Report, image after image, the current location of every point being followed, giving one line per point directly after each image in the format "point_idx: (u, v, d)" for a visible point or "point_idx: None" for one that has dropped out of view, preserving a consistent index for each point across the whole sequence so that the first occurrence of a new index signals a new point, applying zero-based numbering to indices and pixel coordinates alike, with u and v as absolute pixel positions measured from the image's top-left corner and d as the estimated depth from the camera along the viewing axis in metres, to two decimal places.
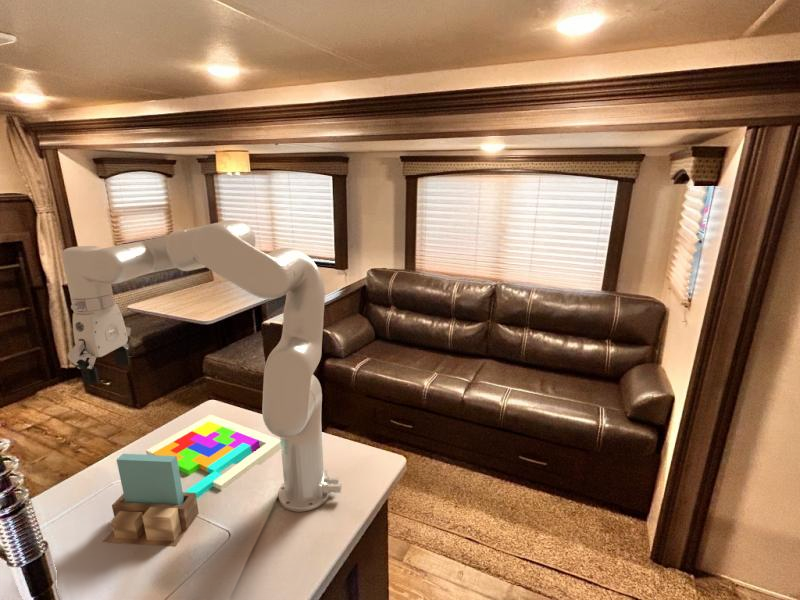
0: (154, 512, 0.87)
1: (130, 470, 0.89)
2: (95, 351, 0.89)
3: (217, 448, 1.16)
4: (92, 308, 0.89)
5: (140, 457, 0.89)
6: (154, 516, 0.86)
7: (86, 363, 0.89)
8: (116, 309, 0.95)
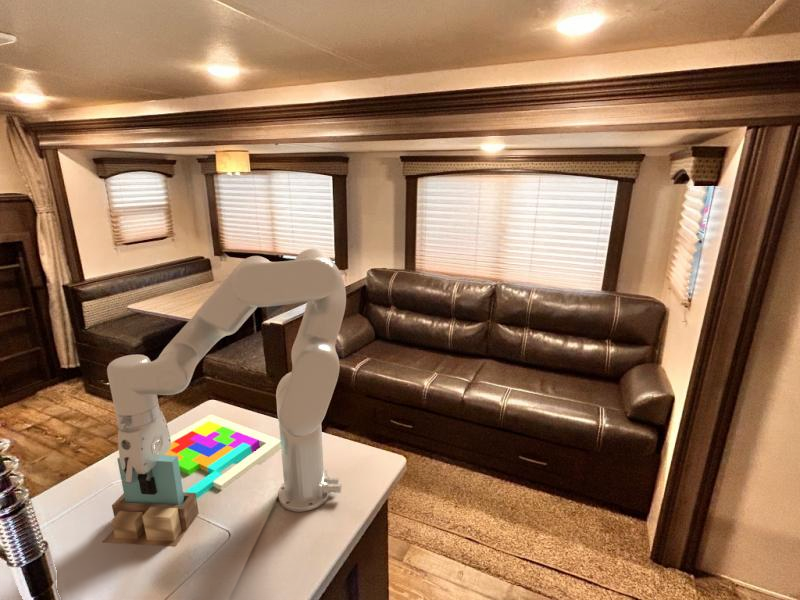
0: (154, 512, 0.87)
1: None
2: (142, 469, 0.84)
3: (217, 448, 1.16)
4: (139, 424, 0.83)
5: None
6: (154, 516, 0.86)
7: (145, 475, 0.87)
8: (161, 417, 0.89)
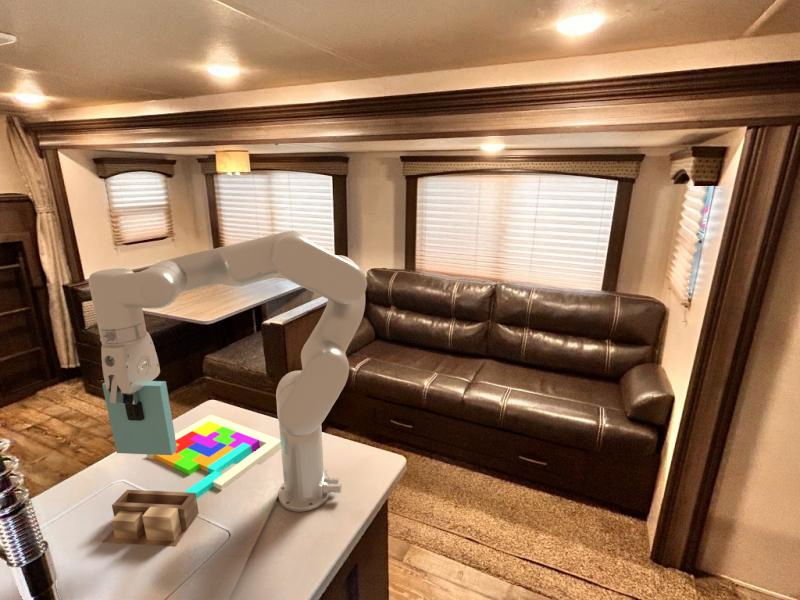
0: (154, 512, 0.87)
1: None
2: (127, 388, 0.79)
3: (217, 448, 1.16)
4: (123, 340, 0.78)
5: None
6: (154, 516, 0.86)
7: (131, 398, 0.82)
8: (148, 339, 0.85)
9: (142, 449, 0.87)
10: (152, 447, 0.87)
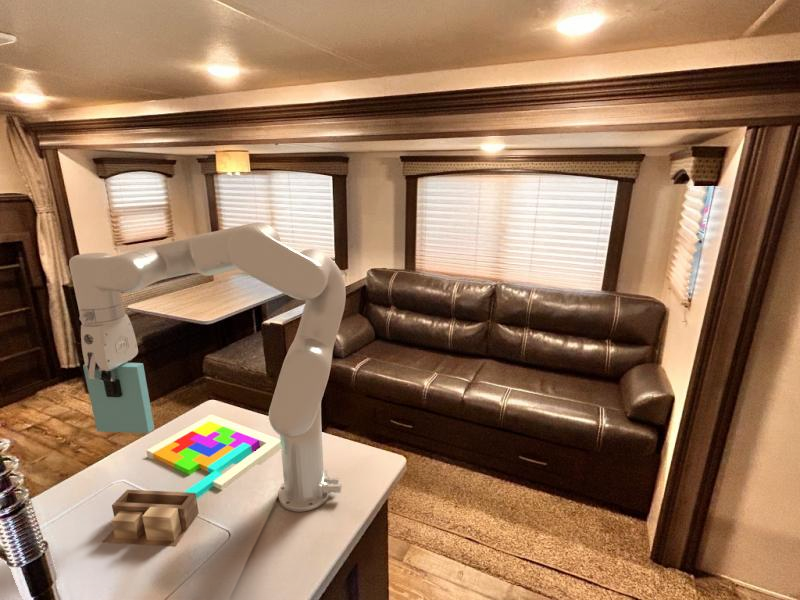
0: (154, 512, 0.87)
1: None
2: (105, 365, 0.84)
3: (217, 448, 1.16)
4: (102, 319, 0.83)
5: None
6: (154, 516, 0.86)
7: (109, 376, 0.87)
8: (126, 320, 0.90)
9: (121, 427, 0.92)
10: (130, 426, 0.92)
